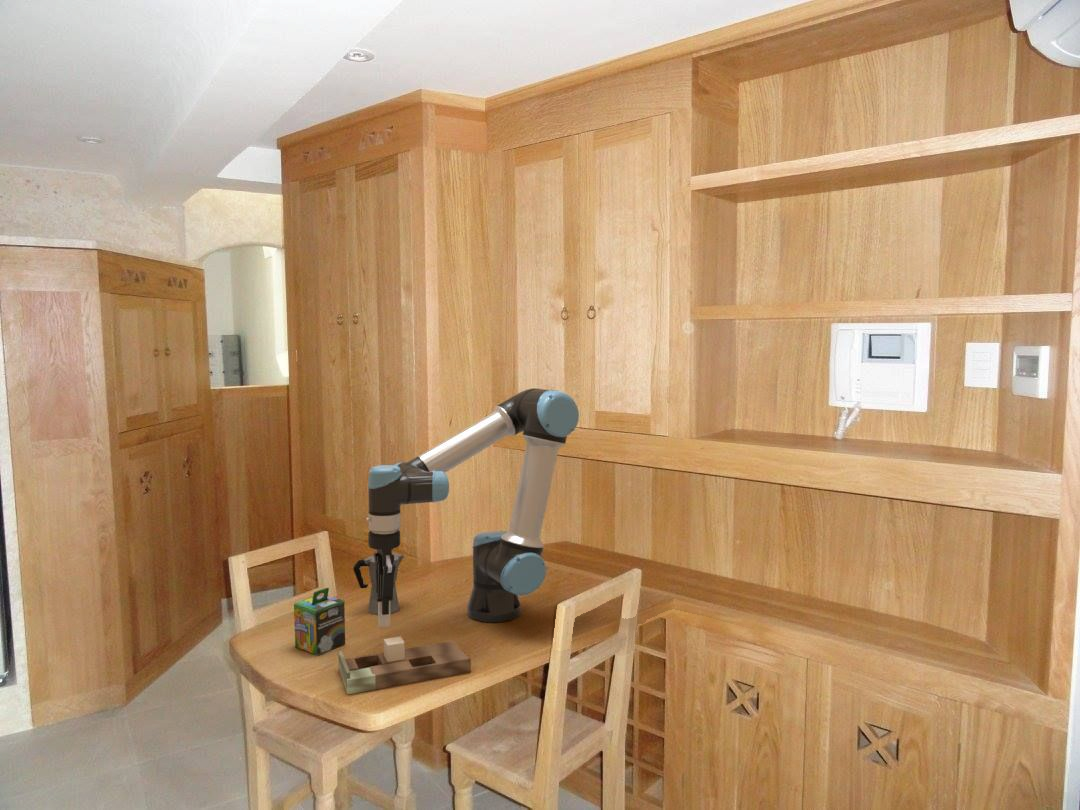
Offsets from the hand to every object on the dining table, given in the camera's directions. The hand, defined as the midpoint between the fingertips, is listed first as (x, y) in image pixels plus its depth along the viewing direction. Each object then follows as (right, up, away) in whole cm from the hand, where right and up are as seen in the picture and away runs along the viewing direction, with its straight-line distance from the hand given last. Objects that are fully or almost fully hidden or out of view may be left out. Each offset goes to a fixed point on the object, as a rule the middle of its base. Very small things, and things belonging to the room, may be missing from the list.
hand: (384, 625), depth 181 cm
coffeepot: (-8, -5, +32) cm, 33 cm away
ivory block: (+4, -6, -6) cm, 9 cm away
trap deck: (+6, -8, -8) cm, 13 cm away
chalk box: (-18, -7, +7) cm, 20 cm away
